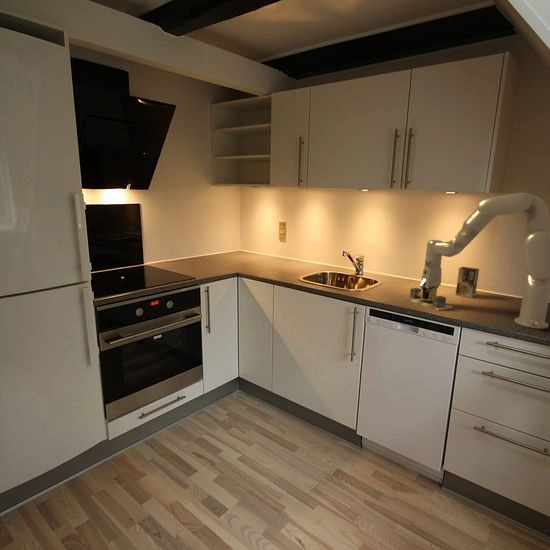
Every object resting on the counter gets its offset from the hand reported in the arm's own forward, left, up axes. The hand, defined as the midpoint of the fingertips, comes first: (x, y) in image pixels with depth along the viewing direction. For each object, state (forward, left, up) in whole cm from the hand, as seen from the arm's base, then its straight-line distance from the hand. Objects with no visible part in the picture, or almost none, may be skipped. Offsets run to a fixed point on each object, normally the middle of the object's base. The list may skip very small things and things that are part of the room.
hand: (428, 297), depth 192 cm
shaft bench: (0, 0, -3) cm, 3 cm away
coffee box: (+24, -25, -3) cm, 35 cm away
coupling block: (0, 0, -1) cm, 1 cm away
